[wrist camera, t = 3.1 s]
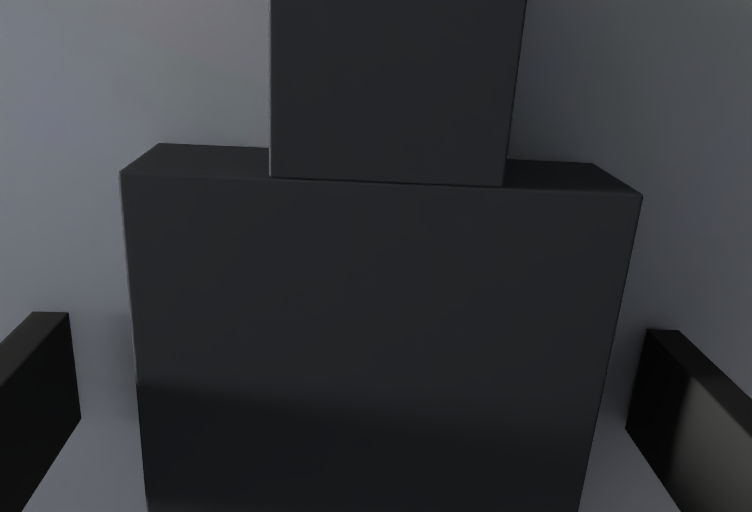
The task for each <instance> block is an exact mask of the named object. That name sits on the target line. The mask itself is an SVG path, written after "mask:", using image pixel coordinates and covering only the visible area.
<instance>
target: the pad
mask: <svg viewBox="0 0 752 512" xmlns="http://www.w3.org/2000/svg"><path fill="white" fill-rule="evenodd" d="M526 5H527V0H269V148H254V147H232V146H211V145H189V144H168V143H159V144H157V145H155V146H154V147H153V148H151V149H150V150H148V151H147V152H146V153H144V154H143V155H141V156H140V157H139V158H137V159H136V160H134V161H133V162H132V163H130V164H129V165H128V166H126V167H125V168H123V169H122V170H121V171H119V173H118V179H119V191H120V202H121V214H122V226H123V237H124V249H125V261H126V272H127V284H128V296H129V308H130V319H131V331H132V343H133V354H134V366H135V378H136V389H137V401H138V413H139V424H140V436H141V448H142V459H143V471H144V483H145V495H146V506H147V512H578V509H579V504H580V499H581V494H582V490H583V485H584V480H585V475H586V470H587V466H588V461H589V456H590V451H591V446H592V441H593V437H594V432H595V427H596V422H597V417H598V413H599V408H600V403H601V398H602V393H603V388H604V384H605V379H606V374H607V369H608V364H609V360H610V355H611V350H612V345H613V340H614V336H615V331H616V326H617V321H618V316H619V311H620V307H621V302H622V297H623V292H624V287H625V283H626V278H627V273H628V268H629V263H630V258H631V254H632V249H633V244H634V239H635V234H636V230H637V225H638V220H639V215H640V210H641V205H642V201H643V195H642V194H641V193H639V192H638V191H636V190H635V189H633V188H631V187H630V186H628V185H627V184H625V183H623V182H622V181H620V180H619V179H617V178H615V177H614V176H612V175H611V174H609V173H607V172H606V171H604V170H603V169H601V168H599V167H598V166H596V165H595V164H593V163H577V162H555V161H534V160H512V159H507V153H508V145H509V137H510V129H511V122H512V114H513V106H514V98H515V90H516V83H517V75H518V67H519V59H520V51H521V44H522V36H523V28H524V20H525V12H526Z"/></svg>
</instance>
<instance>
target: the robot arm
mask: <svg viewBox="0 0 752 512" xmlns="http://www.w3.org/2000/svg"><path fill="white" fill-rule="evenodd" d="M80 420H81V412H80V404H79V395H78V387H77V379H76V370H75V362H74V354H73V346H72V337H71V329H70V321H69V313H64V312H32V313H31V314H30V315H29V316H28V317H27V318H26V319H25V320H24V321H23V322H22V323H21V324H19V325H18V326H17V327H16V328H15V329H14V330H13V331H12V332H11V333H10V334H9V335H8V336H7V337H6V338H5V339H4V340H3V341H2V342H1V343H0V512H22V510H23V509H24V507H25V505H26V504H27V502H28V501H29V499H30V498H31V496H32V495H33V493H34V491H35V490H36V488H37V487H38V485H39V484H40V482H41V481H42V479H43V477H44V476H45V474H46V473H47V471H48V470H49V468H50V467H51V465H52V463H53V462H54V460H55V459H56V457H57V456H58V454H59V452H60V451H61V449H62V448H63V446H64V445H65V443H66V442H67V440H68V438H69V437H70V435H71V434H72V432H73V431H74V429H75V428H76V426H77V424H78V423H79V421H80ZM625 430H626V431H627V433H628V434H629V436H630V437H631V439H632V440H633V442H634V443H635V444H636V446H637V447H638V449H639V450H640V452H641V453H642V455H643V456H644V458H645V459H646V461H647V462H648V464H649V465H650V467H651V468H652V470H653V471H654V473H655V474H656V476H657V477H658V479H659V480H660V481H661V483H662V484H663V486H664V487H665V489H666V490H667V492H668V493H669V495H670V496H671V498H672V499H673V501H674V502H675V504H676V505H677V507H678V508H679V510H680V511H681V512H752V399H751V398H750V397H749V396H748V395H746V394H745V393H744V392H743V391H742V390H741V389H740V388H739V387H738V386H737V385H736V384H735V383H734V382H733V381H732V380H731V379H730V378H729V377H728V376H726V375H725V374H724V373H723V372H722V371H721V370H720V369H719V368H718V367H717V366H716V365H715V364H714V363H713V362H712V361H711V360H710V359H709V358H707V357H706V356H705V355H704V354H703V353H702V352H701V351H700V350H699V349H698V348H697V347H696V346H695V345H694V344H693V343H692V342H691V341H690V340H689V339H687V338H686V337H685V336H684V335H683V334H682V333H681V332H680V331H679V330H655V329H647V332H646V336H645V341H644V345H643V349H642V354H641V358H640V363H639V367H638V372H637V376H636V381H635V385H634V390H633V394H632V399H631V403H630V408H629V412H628V417H627V421H626V426H625Z"/></svg>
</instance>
